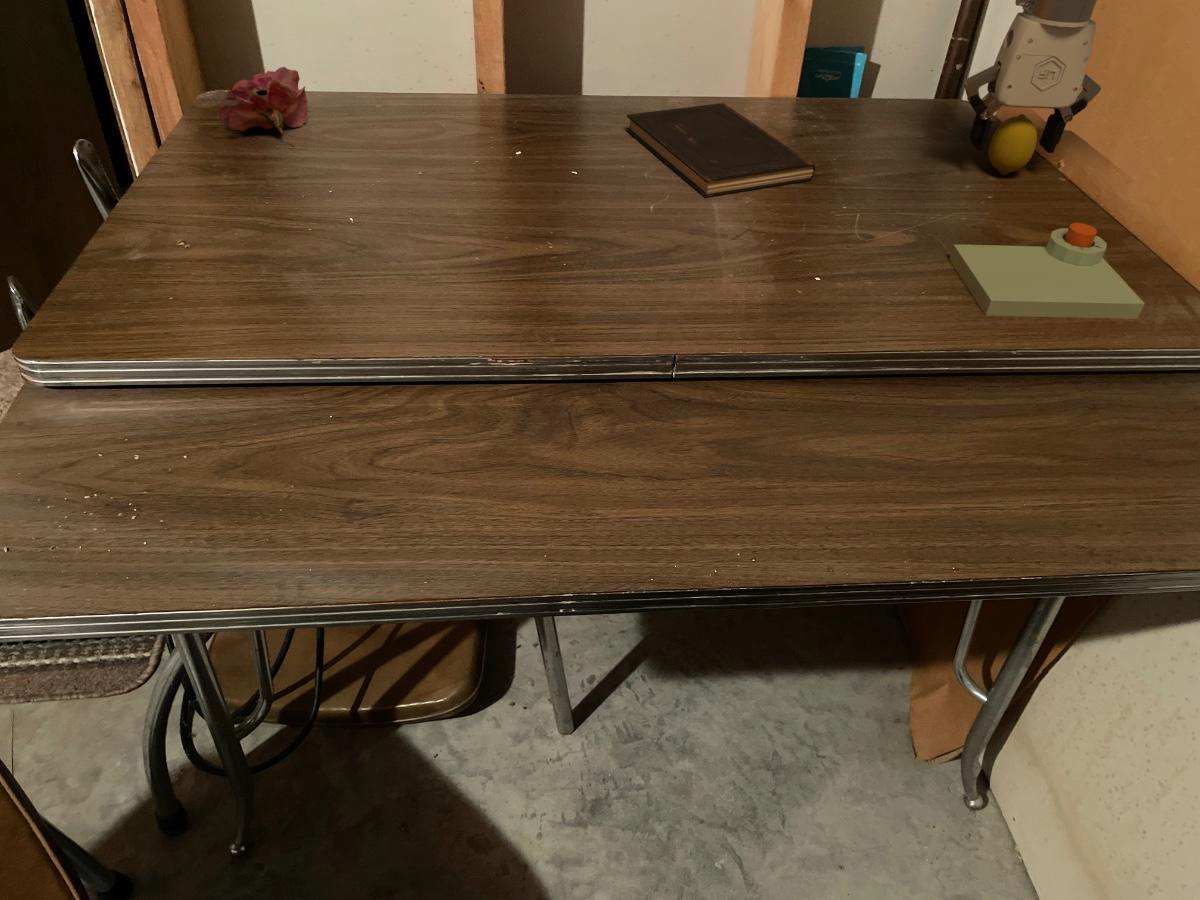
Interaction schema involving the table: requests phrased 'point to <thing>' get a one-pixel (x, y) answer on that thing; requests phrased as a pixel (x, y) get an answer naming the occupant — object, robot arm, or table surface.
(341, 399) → the table surface
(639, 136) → the hardcover book
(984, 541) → the table surface
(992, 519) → the table surface
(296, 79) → the flower
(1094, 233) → the button
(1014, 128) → the lemon
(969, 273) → the scale
